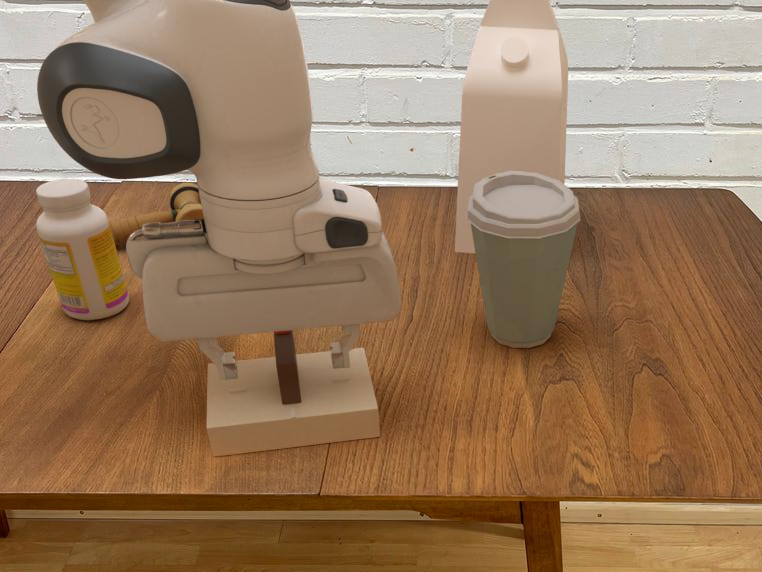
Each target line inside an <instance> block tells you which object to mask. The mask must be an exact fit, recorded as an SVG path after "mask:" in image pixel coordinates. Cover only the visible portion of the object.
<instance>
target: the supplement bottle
mask: <svg viewBox="0 0 762 572" xmlns="http://www.w3.org/2000/svg"><path fill="white" fill-rule="evenodd" d="M35 193H36V196H37V201H38V204H39V205H40V206H41V207H42V208H43V212H42V213H41V214H40V215H39V216H38V218H37V220H36V223H35V228H36V231H37V235H38V238H39V241H40V245H41V247H42V251H43V253H44V256H45V259H46V263H47V265H48V269H49V272H50V275H51V278H52V281H53V284H54V287H55V291H56V294H57V296H58V300H59V302H60V305H61V307H62V309H63V312H64V313H65V314H66V315H68V316H69V317H70V318H73V319H76V320H79V321H95V320H102V319H106V318H110V317H113V316H115V315H117V314H119V313H120V312H122V311H123V310H124V309H126V308H127V306H128V304H129V301H130V293H129V289H128V287H127V283H126V280H125V276H124V272H123V268H122V265H121V261H120V257H119V253H118V250H117V246H115V243H114V239H113V236H112V232H111V228H110V224H109V222H110V220H109V217H108V216H107V213H106V212H105V211H104V209H102V208H101V207H99V206H97V205H95V204H91V197H92V195H91V191H90V188H89V184H88V183H87V182H86V181H84V180H82V179H78V178H60V179H55V180H54V179H53V180H50V181H47V182H45V183H42V184H40V185H39V186H38V187H37V188H36V190H35Z"/></svg>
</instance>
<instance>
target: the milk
mask: <svg viewBox="0 0 762 572" xmlns="http://www.w3.org/2000/svg"><path fill="white" fill-rule="evenodd" d="M463 79H464V80H463V84H462V93H461V113H460V131H459V133H460V134H459V152H458V171H457V172H458V173H457V174H458V175H457V193H456V194H457V196H456V211H455V212H456V215H455V235H454V236H455V237H454V238H455V239H454V253H461V254H462V253H464V254H476V253H475V247H474V241H473V235H472V229H471V223H470V222H469V221H468V220H466V217H467V208H468V203H469V197H470V196H472V195H473V189H474V184H476V183H477V182H479V181H481V180H482V179H484V178H485V177H488V176H490V175H493V174H498V173H502V172H507V171H521V172H533V173H538V174H541V175H544V176H547V177H550V178H553V179H556V180H559V181H560V182H561V183H563V184H564V185H565V181H566V150H567V122H568V119H567V118H568V93H569V92H568V91H569V61H568V55H567V50H566V47H565V44H564V41H563V36H562V34H561V30H560V27H559V24H558V21H557V17H556V15H555V12H554V8H553V6H552V3H551V0H489V2H488V4H487V7H486V9H485V12H484V15H483V17H482V19H481V22H480V26H479V28H478V31H477V35H476V38H475V41H474V44H473V47H472V50H471V54H470V58H469V61H468V64H467V68H466V72H465V75H464V78H463Z"/></svg>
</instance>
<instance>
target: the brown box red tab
mask: <svg viewBox="0 0 762 572" xmlns="http://www.w3.org/2000/svg"><path fill="white" fill-rule="evenodd" d="M273 342H274V357H276V367H277V374H278V380H279V387H280V393H281V399H282V404H283V405H284V404H293V403H301V393H300V384H299V374H298V365H297V358H296V355H297V351H296V345H295V343H296V342H295V336H294V330H288V331H277V332H273Z"/></svg>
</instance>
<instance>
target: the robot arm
mask: <svg viewBox="0 0 762 572" xmlns="http://www.w3.org/2000/svg"><path fill="white" fill-rule="evenodd" d="M82 1H83V3H84V4H85V5H86V6H87V8H88V10H89V12H90V14H91V16H92V18H93V21H94V22H93V23H91V24H89V25H87V26H85V27H83V28H82V29H81V30H79V31H77V32H75V33H74V34H72V35H71V36H69V37H67V38H66V39H65V40H63V41H62V42H61V43H59V44H58V45H57V46H56V47H55V48H54V49H53V50H52V51H51V52H50V53H49V54H48V55H47V56H46V57H45V59H44V60H43V62H42V64H41V66H40V68H39V72H38V76H37V83H36V93H37V101H38V105H39V109H40V113H41V116H42V118H43V121H44V123H45V125H46V127H47V130H48V131H49V133H50V134H51V135H52V137H53V139H54V140H55V142H56V143H57V145H58V146H59V147H60V148H61V149H62V150H63V151H64V152H65V153H66V154H67V155H68V156H69V157H70V158H71V159H72V160H73V161H75V162H76V163H78V165H80V166H82V167H83V168H85V169H86V170H88V171H90V172H91V173H93V174H96V175H99V176H101V177H104V178H108V179H113V180H137V179H145V178H147V179H148V178H154V177H155V178H156V177H161V176H162V177H163V176H167V175H172V174H178V173H181V172H184V171H190V172H191V173H192V174H193V175H194V176H195V179H196V185H197V186H198V190H199V195H200V201H201V206H202V212H203V217H204V218H203V219H195V220H183V221H177V222H175V223H174V222H171V223H160V222H153V223H147V224H144V225H142V229H139V230H137V231H135V232H133V233H132V234H131V235H130V236H129V238H128V240H127V242H126V243H125V251H126V255H127V259H128V263H129V266H130V269H131V271H132V272H133V273H134V274H135V276H136V277H138V278H139V279H140V280H141V288H142V302H143V312H144V318H145V323H146V328H147V332H148V333H149V334H150V335H152V337H154V338H155V339H156V340H158V341H160V342H163V343H165V342H177V341H188V340H197V344H198V349H199V350H200V351H201V352H202V354H204V355H205V356H206V357H207V358H208V359H209V360H210V361H211V363H214V364H217V368H218V373H219V378H220V380H229V379H238V375H237V374H238V370H237V363H236V361H237V360H236V359H237V358H236V353H235V351H228V352H225V351H224V349H222V348H221V346H220V345H219V344H218V341H217V339H218V338H219V337H220V338H222V337H231V336H233V337H234V336H243V335H253V334H254V335H255V334H264V333H265V334H266V333H274V332H277V331H288V330H293V331H297V330H308V329H319V328H330V327H341V326H342V331H343V332H342V334H341V336H340V337H339V338H340V339H339V341H334V342H329V349H330V350H329V351H331V359H332V365H333V369H338V368H348V367H350V360H349V351H351V349H354V346H355V344H356V342H357V340H358V339H359V338H360V336H361V325H364V324H365V325H366V324H374V323H387V322H392V321H394V320H395V319H396V318H397V317H398V315H399V314H400V312H401V311H402V309H403V303H402V292H401V285H400V279H399V275H398V272H397V267H396V262H395V259H394V256H393V253H392V249H391V247H390V243H389V241H388V239H387V236H386V233H384V231H383V222H382V221H383V220H382V215H381V211H380V208H379V206H378V203H377V201H376V200H375V198H374V196H373V195H372V194H371V193H370V192H369V191H368V190H367V189H364V188H361V187H357V186H353V185H348V184H346V183H345V184H344V183H340V182H336V181H332V180H329V179H325V178H322V177H321V178H320V170H319V167H318V163H317V160H316V159H315V156H314V152H313V149H312V144H311V143H312V142H311V131H312V126H313V121H314V108H313V107H314V106H313V99H312V87H311V79H310V73H309V67H308V60H307V55H306V50H305V45H304V39H303V35H302V30H301V26H300V23H299V20H298V16H297V14H296V11H295V8H294V7H293V4H292V2H291V1H290V0H82ZM142 234H143V235H144V236H142V237H138V236H140V235H142Z"/></svg>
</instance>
